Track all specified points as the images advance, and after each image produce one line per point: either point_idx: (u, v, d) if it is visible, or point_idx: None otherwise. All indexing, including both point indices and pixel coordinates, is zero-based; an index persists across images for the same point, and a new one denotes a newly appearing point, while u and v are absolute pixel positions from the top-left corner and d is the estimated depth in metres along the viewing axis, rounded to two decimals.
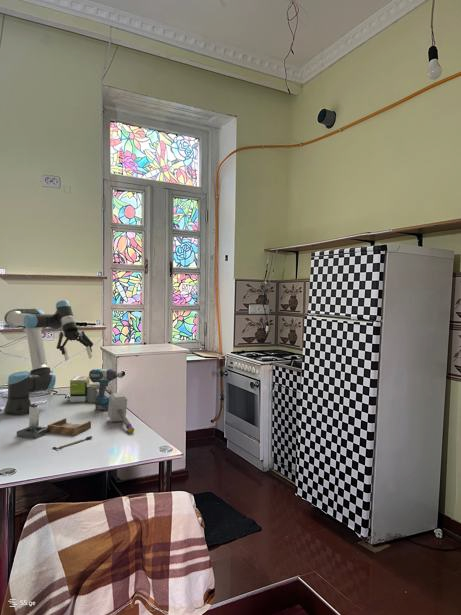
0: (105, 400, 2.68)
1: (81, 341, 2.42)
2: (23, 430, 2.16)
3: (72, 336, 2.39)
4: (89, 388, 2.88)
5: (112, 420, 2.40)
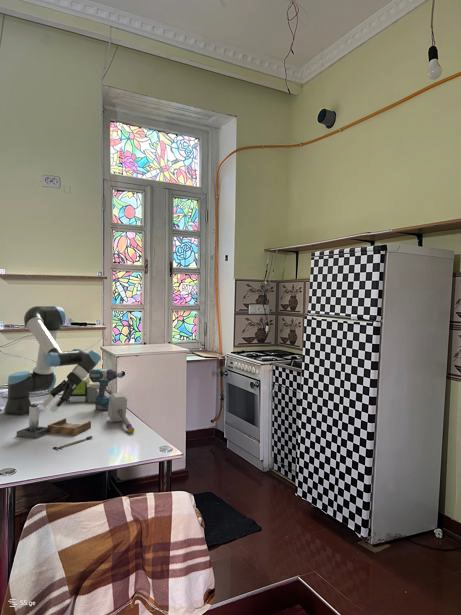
0: (105, 400, 2.68)
1: (59, 390, 2.28)
2: (23, 430, 2.16)
3: None
4: (89, 388, 2.88)
5: (112, 420, 2.40)
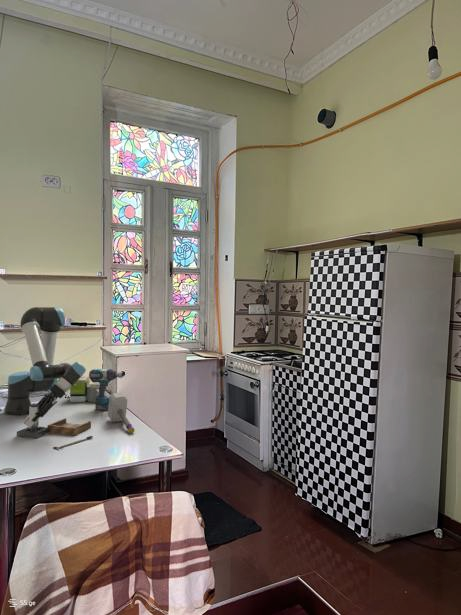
0: (105, 400, 2.68)
1: (42, 405, 2.21)
2: (23, 430, 2.16)
3: None
4: (89, 388, 2.88)
5: (112, 420, 2.40)
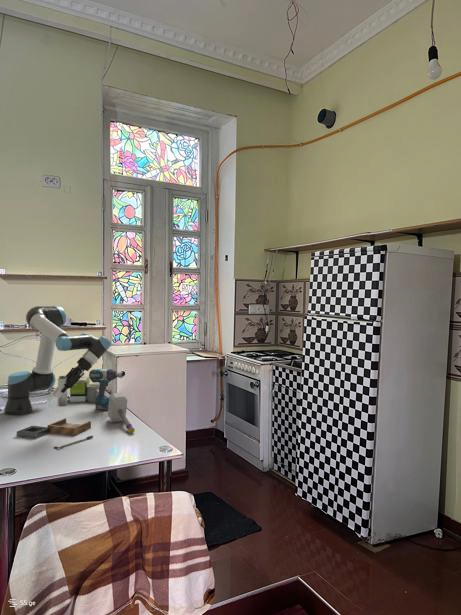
0: (105, 400, 2.68)
1: (70, 377, 2.27)
2: (23, 430, 2.16)
3: None
4: (89, 388, 2.88)
5: (112, 420, 2.40)
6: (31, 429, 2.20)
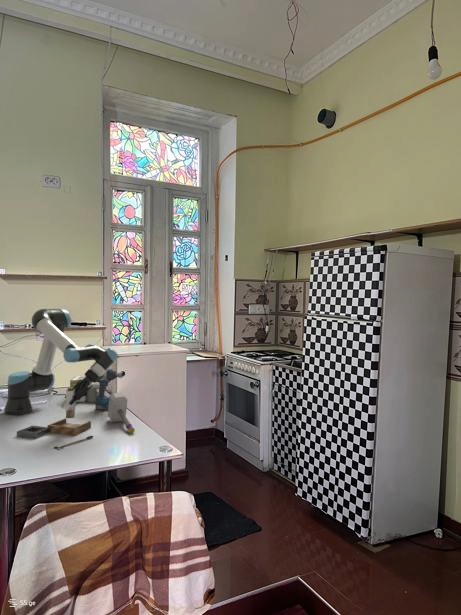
0: (105, 400, 2.68)
1: (78, 389, 2.30)
2: (23, 430, 2.16)
3: None
4: None
5: (112, 420, 2.40)
6: (31, 429, 2.20)
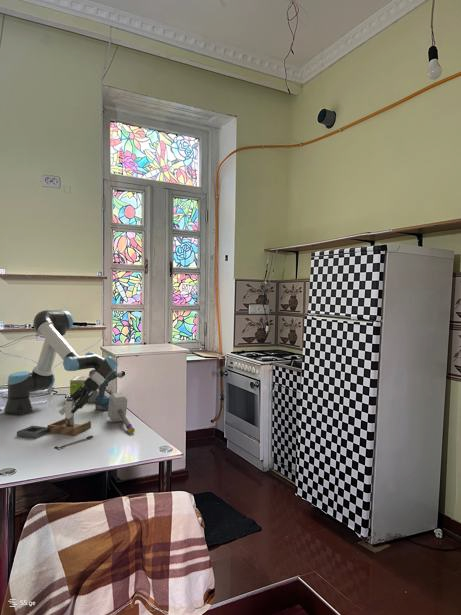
0: (105, 400, 2.68)
1: (76, 397, 2.31)
2: (23, 430, 2.16)
3: None
4: None
5: (112, 420, 2.40)
6: (31, 429, 2.20)
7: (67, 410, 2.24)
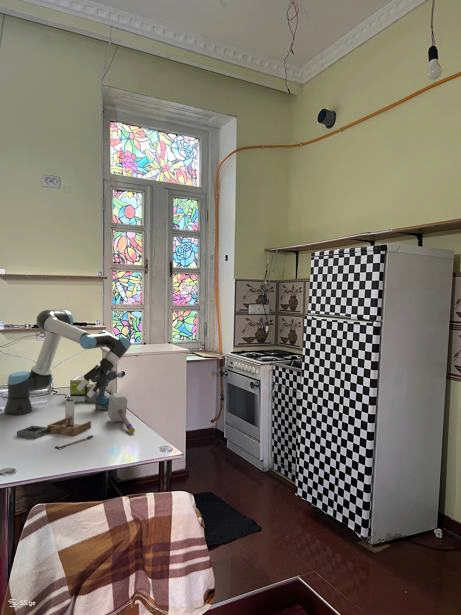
0: (105, 400, 2.68)
1: (93, 375, 2.39)
2: (23, 430, 2.16)
3: None
4: (89, 388, 2.88)
5: (112, 420, 2.40)
6: (31, 429, 2.20)
7: (67, 410, 2.24)
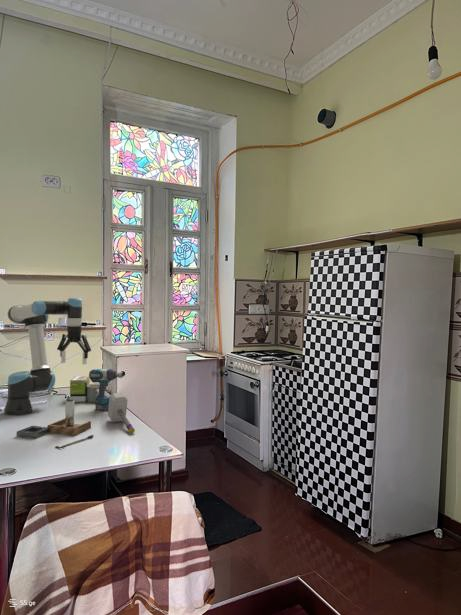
0: (105, 400, 2.68)
1: (67, 344, 2.45)
2: (23, 430, 2.16)
3: None
4: (89, 388, 2.88)
5: (112, 420, 2.40)
6: (31, 429, 2.20)
7: (67, 410, 2.24)
